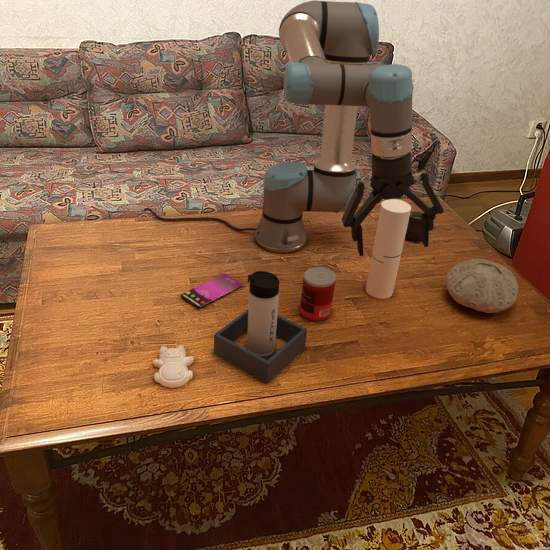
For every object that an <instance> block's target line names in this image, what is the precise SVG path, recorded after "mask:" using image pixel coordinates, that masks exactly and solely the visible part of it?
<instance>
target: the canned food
mask: <svg viewBox="0 0 550 550" xmlns="http://www.w3.org/2000/svg"><path fill="white" fill-rule="evenodd" d="M336 279H337V276H336V274H335V272H334V271H333V270H331V269H329V268H327V267H324V266H314V267H309V268H308V269H306V270H305V271H304V273H303V277H302V286H301V296H300V306H299V311H300V314H301V316H302V317H303V318H304V319H306V320H308V321H311V322H322V321H324V320H327V319H328V318H329V317H330V315H331V314H332V308H333V301H334V296H335V295H334V294H335V289H336V287H335V286H336Z"/></svg>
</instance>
